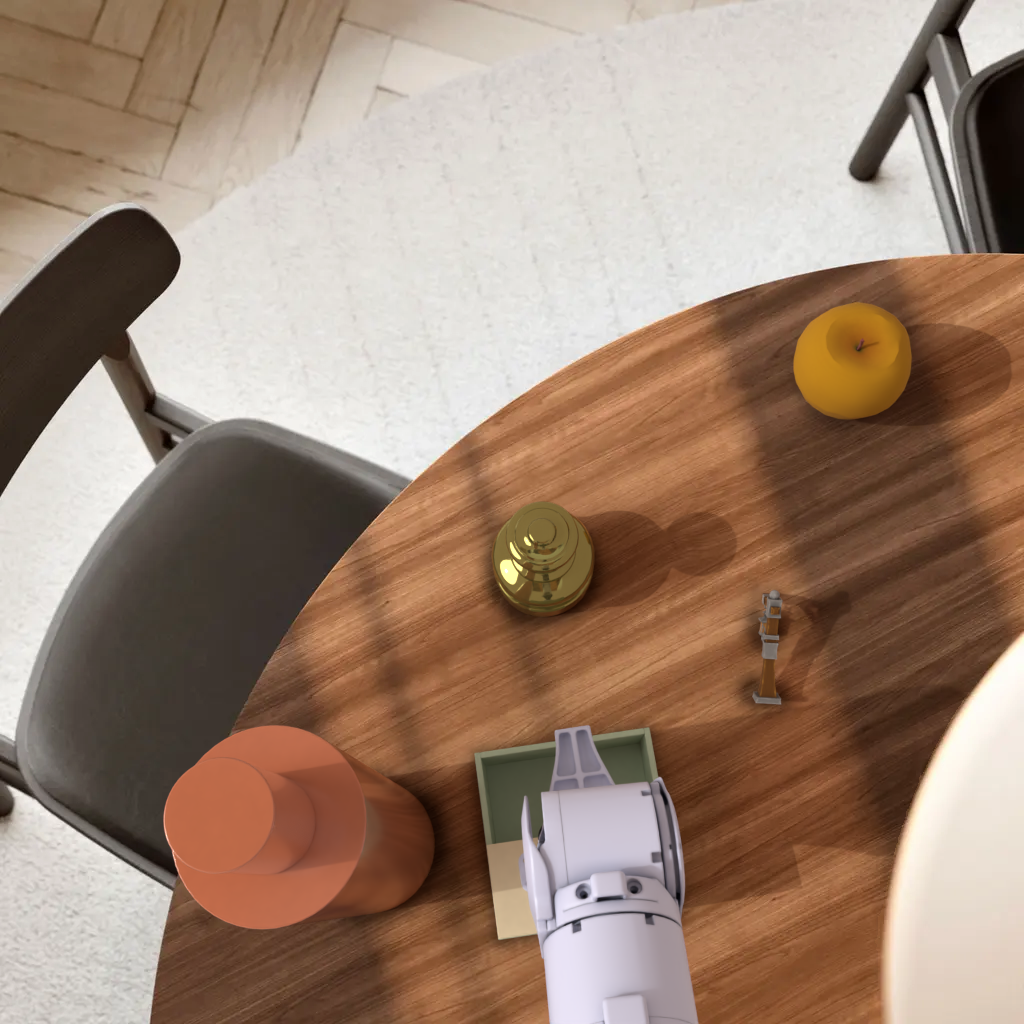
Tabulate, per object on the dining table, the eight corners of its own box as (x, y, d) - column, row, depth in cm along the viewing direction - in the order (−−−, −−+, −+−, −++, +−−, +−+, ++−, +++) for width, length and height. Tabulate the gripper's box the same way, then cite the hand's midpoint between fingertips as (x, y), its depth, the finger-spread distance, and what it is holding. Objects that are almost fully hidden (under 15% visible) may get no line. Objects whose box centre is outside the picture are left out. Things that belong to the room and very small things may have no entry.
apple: (825, 318, 92) (852, 262, 84) (915, 381, 90) (951, 329, 82) (760, 394, 91) (780, 344, 82) (850, 460, 89) (880, 415, 80)
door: (681, 911, 73) (682, 911, 73) (498, 938, 73) (498, 939, 73) (665, 818, 75) (665, 818, 75) (486, 845, 75) (486, 844, 75)
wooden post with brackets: (779, 581, 85) (790, 592, 80) (771, 688, 86) (782, 705, 81) (754, 580, 85) (763, 591, 81) (747, 687, 86) (756, 703, 81)
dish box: (673, 910, 79) (682, 912, 74) (502, 936, 79) (498, 940, 74) (643, 737, 83) (649, 727, 77) (480, 761, 83) (474, 753, 77)
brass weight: (608, 545, 87) (614, 504, 78) (568, 634, 85) (569, 602, 76) (519, 507, 88) (514, 462, 79) (478, 594, 87) (468, 558, 77)
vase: (403, 934, 79) (272, 976, 43) (285, 882, 81) (63, 881, 45) (454, 808, 82) (370, 748, 46) (339, 760, 83) (169, 665, 47)
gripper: (496, 727, 60) (508, 756, 73) (538, 1028, 56) (542, 1002, 69) (630, 707, 60) (618, 739, 73) (683, 1006, 56) (660, 984, 69)
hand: (589, 865), depth 71 cm, fingers closed
